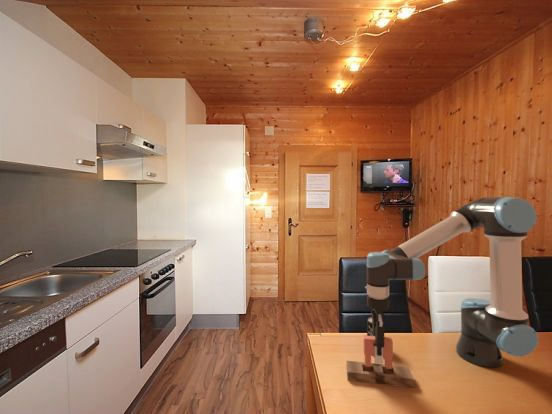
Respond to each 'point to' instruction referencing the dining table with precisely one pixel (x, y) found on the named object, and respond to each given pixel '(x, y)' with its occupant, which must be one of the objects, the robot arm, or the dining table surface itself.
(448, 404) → the dining table surface
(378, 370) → the grey-brown slotted holder
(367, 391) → the dining table surface
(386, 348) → the pink pronged block
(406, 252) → the robot arm
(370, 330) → the beverage can
